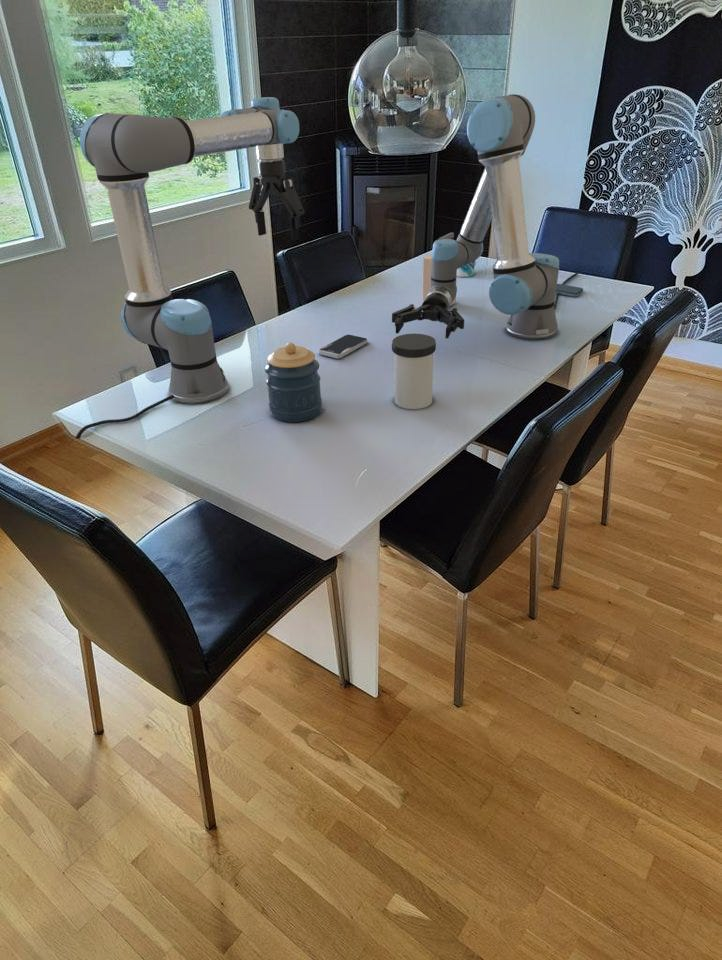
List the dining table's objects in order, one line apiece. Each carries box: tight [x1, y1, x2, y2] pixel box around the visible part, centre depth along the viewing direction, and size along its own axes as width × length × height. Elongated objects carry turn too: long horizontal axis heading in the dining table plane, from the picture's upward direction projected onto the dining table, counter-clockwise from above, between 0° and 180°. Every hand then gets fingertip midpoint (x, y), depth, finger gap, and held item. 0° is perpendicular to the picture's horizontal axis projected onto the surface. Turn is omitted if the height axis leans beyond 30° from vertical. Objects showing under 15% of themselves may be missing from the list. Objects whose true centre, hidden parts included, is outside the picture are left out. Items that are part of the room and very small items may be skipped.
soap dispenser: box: [421, 232, 458, 306], centre depth 225 cm, size 13×9×22 cm
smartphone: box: [318, 334, 368, 360], centre depth 199 cm, size 8×1×15 cm
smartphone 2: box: [556, 283, 584, 298], centre depth 237 cm, size 8×2×15 cm
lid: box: [391, 333, 437, 358], centre depth 161 cm, size 10×11×2 cm
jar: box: [393, 352, 434, 410], centre depth 165 cm, size 10×10×15 cm
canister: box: [264, 342, 323, 423], centre depth 161 cm, size 13×13×18 cm
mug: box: [457, 259, 477, 278], centre depth 259 cm, size 8×12×8 cm
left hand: (278, 237), depth 202 cm, fingers open, 13 cm apart
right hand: (421, 331), depth 179 cm, fingers open, 13 cm apart
